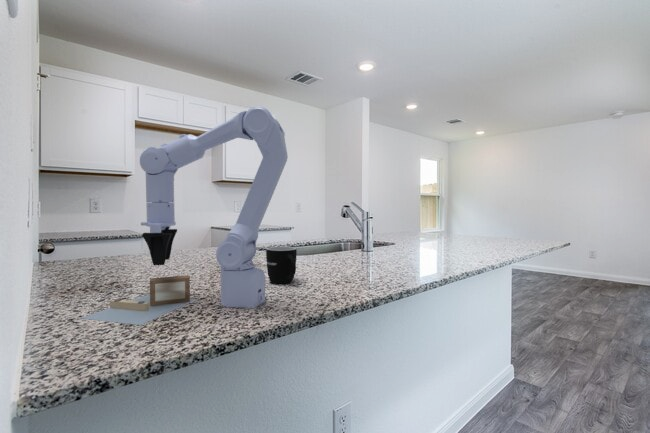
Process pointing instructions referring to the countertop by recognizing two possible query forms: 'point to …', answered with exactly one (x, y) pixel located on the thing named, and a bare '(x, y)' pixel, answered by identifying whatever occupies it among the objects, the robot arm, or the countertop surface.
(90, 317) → the blue flat mat
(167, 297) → the brown square box
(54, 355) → the countertop surface
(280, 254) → the mug
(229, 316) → the countertop surface
